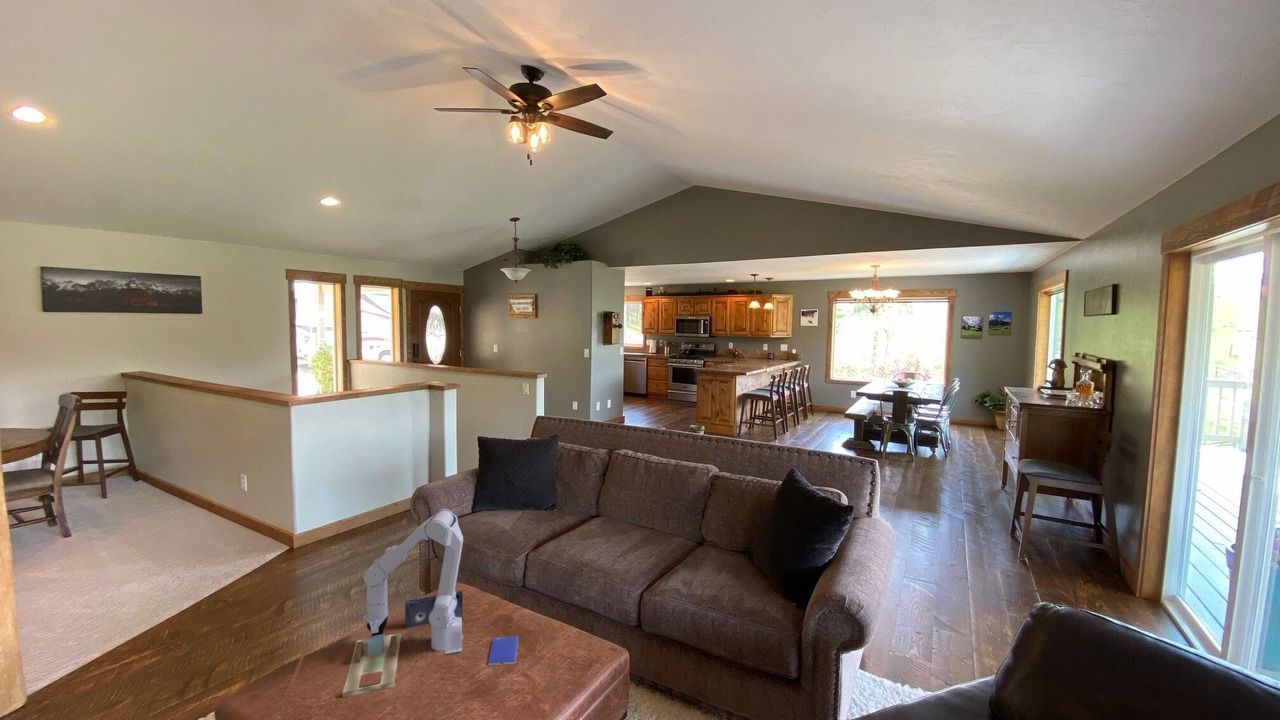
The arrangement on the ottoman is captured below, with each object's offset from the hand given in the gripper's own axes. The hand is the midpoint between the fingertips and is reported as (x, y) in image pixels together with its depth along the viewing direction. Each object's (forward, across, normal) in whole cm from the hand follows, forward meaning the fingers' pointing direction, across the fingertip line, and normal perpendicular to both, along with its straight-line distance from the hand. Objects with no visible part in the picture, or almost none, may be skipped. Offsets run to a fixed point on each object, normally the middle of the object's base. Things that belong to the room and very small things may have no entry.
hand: (377, 641), depth 162 cm
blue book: (+3, +14, +38) cm, 40 cm away
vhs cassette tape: (+3, -8, +16) cm, 19 cm away
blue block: (+1, +3, 0) cm, 4 cm away
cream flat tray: (+2, +8, 0) cm, 8 cm away
